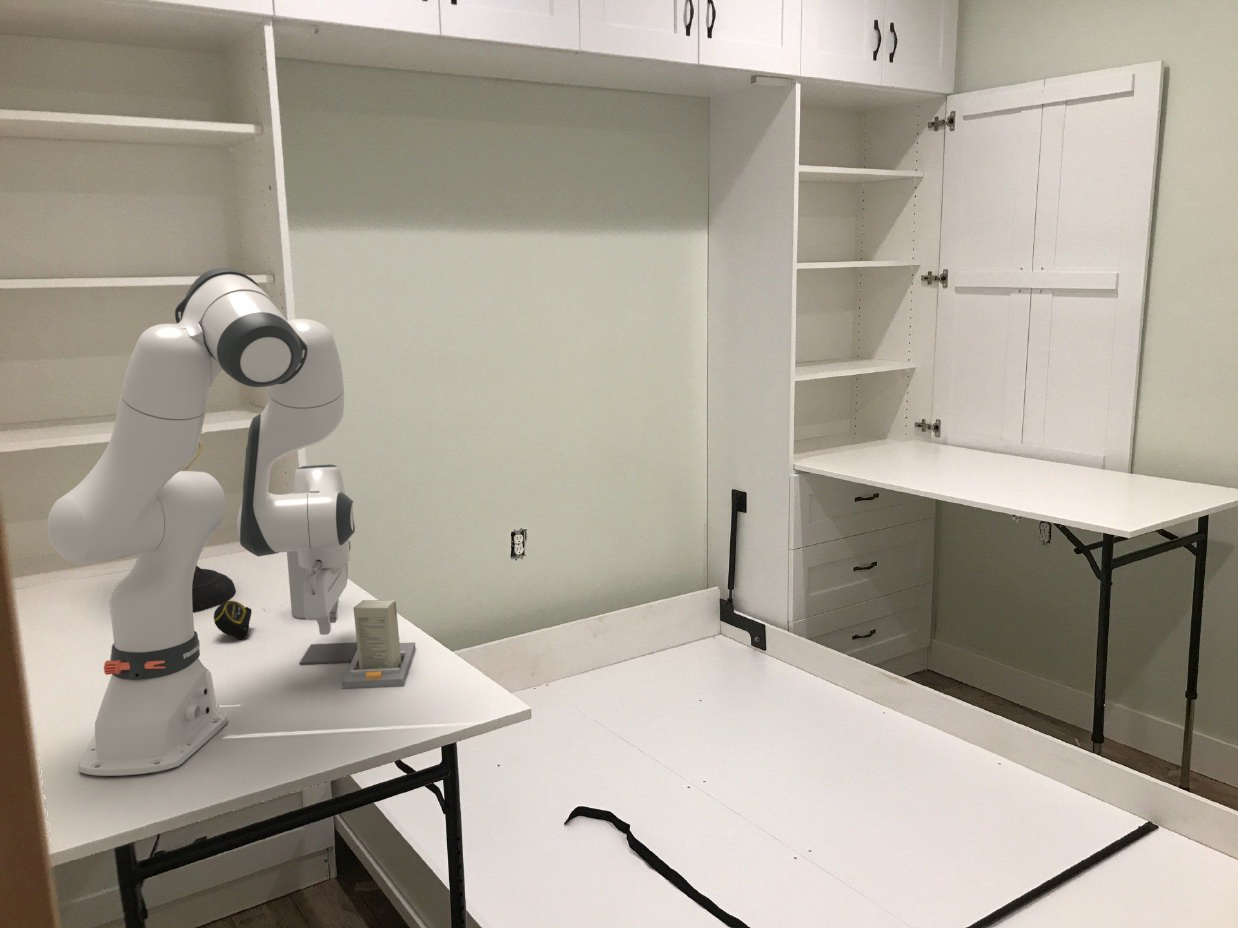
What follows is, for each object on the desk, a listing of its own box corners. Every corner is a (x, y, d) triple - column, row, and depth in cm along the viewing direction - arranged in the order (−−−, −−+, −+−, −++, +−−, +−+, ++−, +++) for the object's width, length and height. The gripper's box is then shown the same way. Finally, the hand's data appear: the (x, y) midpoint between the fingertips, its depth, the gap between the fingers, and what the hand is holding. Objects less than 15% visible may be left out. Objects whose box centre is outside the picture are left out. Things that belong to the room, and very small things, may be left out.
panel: (403, 685, 163) (402, 675, 163) (342, 688, 162) (341, 678, 162) (415, 648, 180) (414, 639, 180) (359, 650, 179) (359, 641, 179)
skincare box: (402, 666, 172) (398, 599, 169) (393, 676, 167) (389, 607, 165) (366, 665, 172) (362, 598, 170) (357, 674, 168) (352, 606, 166)
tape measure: (239, 645, 186) (251, 633, 185) (206, 629, 183) (218, 617, 182) (244, 620, 192) (256, 608, 191) (213, 604, 188) (224, 592, 187)
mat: (351, 662, 174) (351, 660, 174) (299, 664, 173) (299, 662, 173) (360, 644, 182) (360, 641, 182) (311, 646, 182) (310, 644, 182)
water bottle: (283, 615, 199) (274, 495, 195) (319, 606, 205) (310, 488, 200) (305, 625, 193) (295, 501, 188) (341, 616, 198) (333, 495, 194)
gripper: (329, 569, 164) (335, 647, 167) (352, 538, 184) (356, 608, 187) (291, 570, 164) (297, 649, 166) (317, 539, 184) (322, 609, 186)
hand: (328, 627), depth 177 cm, fingers open, 5 cm apart
